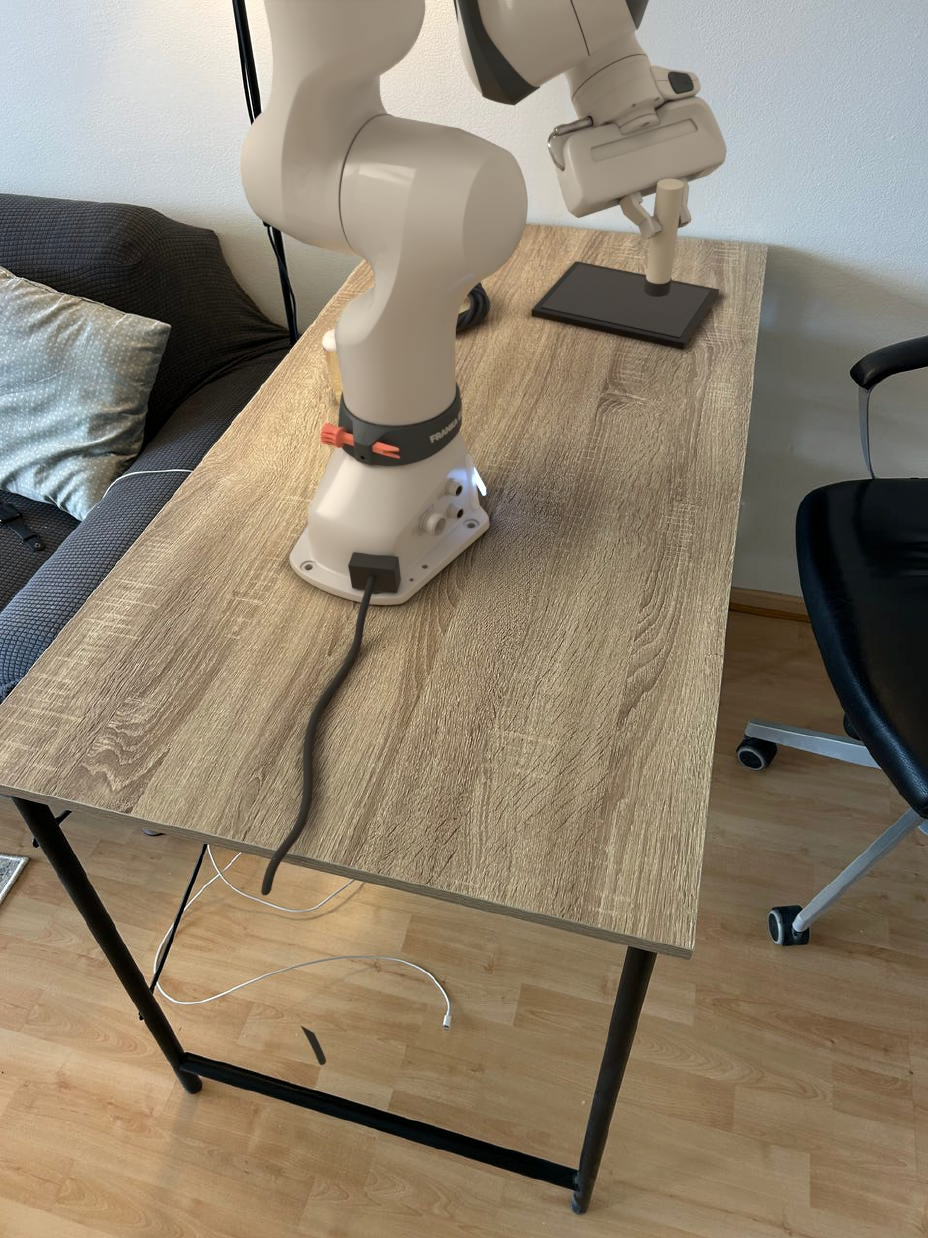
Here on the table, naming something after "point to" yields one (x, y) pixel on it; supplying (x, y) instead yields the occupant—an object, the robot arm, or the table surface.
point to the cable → (474, 308)
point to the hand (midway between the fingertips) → (668, 230)
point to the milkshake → (332, 362)
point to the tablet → (626, 305)
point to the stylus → (664, 237)
